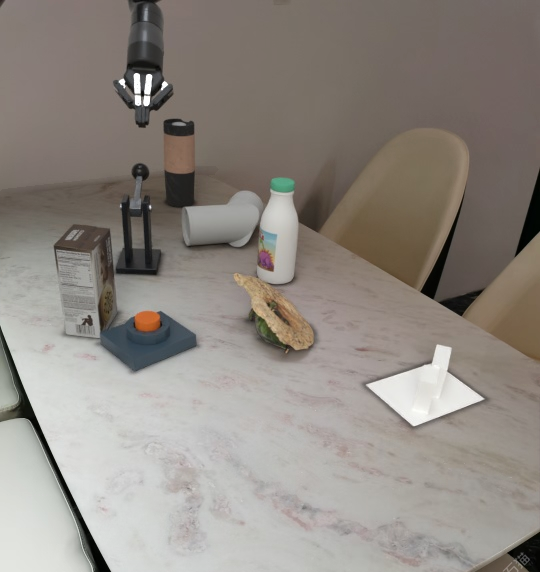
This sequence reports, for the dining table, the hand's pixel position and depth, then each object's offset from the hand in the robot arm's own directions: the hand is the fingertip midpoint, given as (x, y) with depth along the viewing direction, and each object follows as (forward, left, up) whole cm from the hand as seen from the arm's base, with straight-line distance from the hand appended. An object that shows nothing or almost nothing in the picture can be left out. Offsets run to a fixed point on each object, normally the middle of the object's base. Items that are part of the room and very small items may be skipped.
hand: (141, 125), depth 124 cm
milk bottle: (+9, -33, -24) cm, 42 cm away
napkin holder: (0, -76, -24) cm, 80 cm away
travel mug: (+19, +13, -24) cm, 33 cm away
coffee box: (-30, -28, -24) cm, 47 cm away
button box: (-26, -39, -24) cm, 53 cm away
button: (-26, -39, -20) cm, 51 cm away
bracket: (-10, -12, -24) cm, 29 cm away
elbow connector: (+13, -11, -24) cm, 29 cm away
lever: (-7, -8, -11) cm, 15 cm away
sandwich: (-6, -49, -24) cm, 55 cm away
